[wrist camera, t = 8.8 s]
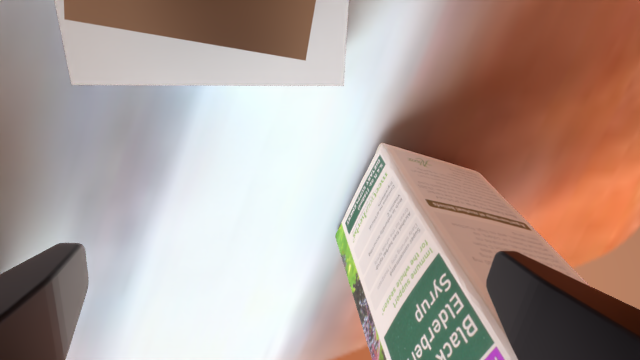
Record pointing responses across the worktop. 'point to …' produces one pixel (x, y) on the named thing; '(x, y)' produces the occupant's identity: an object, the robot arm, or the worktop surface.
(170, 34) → the walnut cube
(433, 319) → the syrup box
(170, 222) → the worktop surface
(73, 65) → the base block
